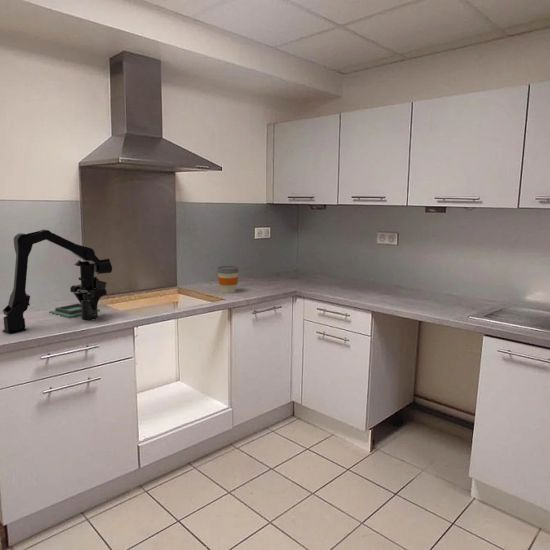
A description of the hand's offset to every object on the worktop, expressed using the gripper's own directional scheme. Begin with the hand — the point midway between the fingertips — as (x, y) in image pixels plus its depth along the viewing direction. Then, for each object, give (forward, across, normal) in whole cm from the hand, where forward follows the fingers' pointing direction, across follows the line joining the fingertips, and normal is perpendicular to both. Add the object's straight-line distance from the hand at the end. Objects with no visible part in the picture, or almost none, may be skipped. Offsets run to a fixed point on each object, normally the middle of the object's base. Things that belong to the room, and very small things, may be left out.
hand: (89, 308), depth 195 cm
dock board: (+4, +16, -3) cm, 17 cm away
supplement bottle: (+5, 0, 0) cm, 5 cm away
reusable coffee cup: (+5, -13, -85) cm, 86 cm away
